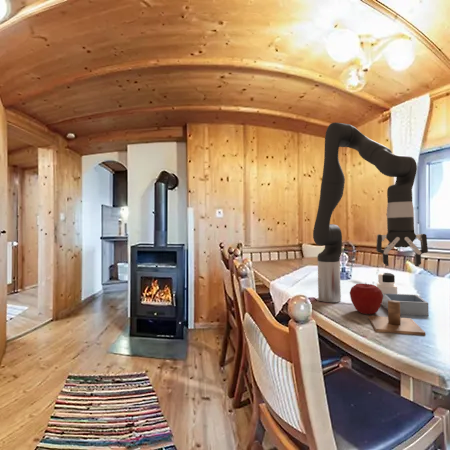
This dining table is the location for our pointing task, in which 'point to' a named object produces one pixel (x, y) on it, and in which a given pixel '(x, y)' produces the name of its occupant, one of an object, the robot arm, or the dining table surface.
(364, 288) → the apple
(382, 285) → the medicine bottle
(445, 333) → the dining table surface
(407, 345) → the dining table surface
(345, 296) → the dining table surface
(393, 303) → the lid
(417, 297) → the grey open box
